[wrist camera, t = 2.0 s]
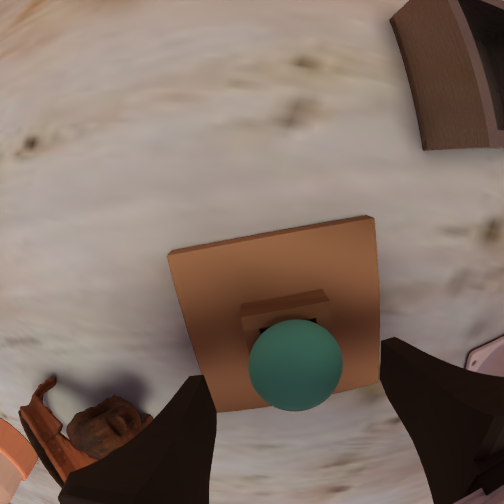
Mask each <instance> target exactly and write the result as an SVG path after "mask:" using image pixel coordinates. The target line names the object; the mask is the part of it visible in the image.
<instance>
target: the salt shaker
mask: <svg viewBox="0 0 504 504" xmlns="http://www.w3.org/2000/svg"><path fill="white" fill-rule="evenodd" d="M37 460H38V456H37V453H36V452H35V450H34V448H33V447H32V446H31V444H30V443H29V442H28V441H27V440H26V439H25V438H24V437H23V436H22V435H21V434H20V433H19V432H18V431H17V430H16V429H15V428H14V427H12V426H11V425H10V424H8V423H7V422H6V421H4V420H3V419H1V418H0V504H8V503H9V502H10V501H11V500H12V498H13V496H14V494H15V492H16V490H17V488H18V486H19V484H20V482H21V481H24V480H26V479H27V477H28V476H29V474H30V472H31V470H32V469H33V467H34V465H35V464H36V462H37Z"/></svg>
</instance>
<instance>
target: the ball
mask: <svg viewBox="0 0 504 504" xmlns="http://www.w3.org/2000/svg"><path fill="white" fill-rule="evenodd" d="M342 369H343V359H342V353H341V350H340V347H339V345H338V343H337V341H336V340H335V338H334V337H333V336H332V335H331V334H330V333H329V332H328V331H327V330H326V329H325V328H323V327H322V326H320V325H318V324H316V323H314V322H311V321H307V320H299V319H295V320H287V321H283V322H280V323H277V324H275V325H273V326H271V327H270V328H268V329H267V330H266V331H265V332H263V333H262V334H261V335H260V337H259V338H258V339H257V341H256V342H255V344H254V346H253V347H252V350H251V353H250V356H249V362H248V370H249V377H250V380H251V383H252V385H253V387H254V389H255V391H256V392H257V393H258V395H259V396H260V397H261V398H262V399H263V400H264V401H265V402H267V403H268V404H270V405H272V406H274V407H276V408H278V409H282V410H286V411H303V410H307V409H310V408H313V407H315V406H317V405H319V404H321V403H322V402H324V401H325V400H326V399H327V398H328V397H329V396H330V395H331V394H332V393H333V392H334V390H335V389H336V387H337V385H338V384H339V381H340V378H341V375H342Z"/></svg>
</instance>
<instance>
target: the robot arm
mask: <svg viewBox="0 0 504 504" xmlns="http://www.w3.org/2000/svg"><path fill="white" fill-rule="evenodd" d="M380 380H381V383H382V385H383V388H384V390H385V393H386V395H387V397H388V399H389V401H390V403H391V404H392V406H393V408H394V409H395V411H396V413H397V414H398V416H399V418H400V419H401V421H402V423H403V424H404V426H405V428H406V429H407V431H408V433H409V435H410V437H411V439H412V440H413V443H414V445H415V447H416V450H417V452H418V455H419V457H420V460H421V463H422V466H423V468H424V471H425V474H426V477H427V480H428V484H429V487H430V490H431V494H432V498H433V502H434V504H504V336H503V337H501V338H499V339H497V340H495V341H493V342H491V343H488V344H486V345H484V346H482V347H480V348H478V349H476V350H473V351H472V352H471V353H470V354H469V357H468V361H467V366H466V369H464V368H460V367H457V366H455V365H452V364H450V363H447V362H445V361H442V360H440V359H438V358H436V357H433V356H431V355H429V354H427V353H425V352H423V351H421V350H419V349H417V348H415V347H414V346H412V345H410V344H408V343H406V342H404V341H402V340H400V339H398V338H396V337H392V338H389V339H385V340H382V341H381V366H380ZM216 425H217V410H216V408H215V405H214V402H213V399H212V397H211V394H210V391H209V388H208V385H207V382H206V379H205V377H204V375H197V376H189V377H188V379H187V380H186V381H185V382H184V384H183V385H182V386H181V388H180V389H179V390H178V391H177V393H176V394H175V395H174V397H173V398H172V399H171V400H170V401H169V403H168V404H167V405H166V406H165V408H164V409H163V410H162V411H161V412H160V413H159V414H158V415H157V416H156V417H155V418H154V420H153V421H152V422H151V423H150V424H149V425H148V426H147V427H145V428H144V429H143V430H142V431H141V432H140V433H139V434H138V435H136V436H135V437H134V438H133V439H131V440H130V441H129V442H127V443H126V444H124V445H123V446H122V447H120V448H119V449H117V450H116V451H114V452H113V453H111V454H109V455H108V456H106V457H104V458H102V459H100V460H98V461H96V462H94V463H92V464H90V465H88V466H85V467H83V468H80V469H78V470H76V471H73V472H70V473H69V475H68V477H67V479H66V481H65V483H64V485H63V487H62V490H61V492H60V494H59V496H58V500H59V502H60V504H209V480H210V471H211V464H212V457H213V451H214V444H215V437H216Z"/></svg>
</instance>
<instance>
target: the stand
mask: <svg viewBox="0 0 504 504" xmlns="http://www.w3.org/2000/svg"><path fill="white" fill-rule="evenodd" d="M167 259H168V263H169V267H170V271H171V274H172V278H173V282H174V285H175V289H176V293H177V296H178V300H179V303H180V307H181V310H182V314H183V317H184V320H185V324H186V327H187V330H188V333H189V337H190V340H191V343H192V346H193V349H194V352H195V355H196V358H197V361H198V364H199V367H200V370H201V373H202V375H204V377H205V379H206V382H207V385H208V388H209V391H210V394H211V397H212V399H213V402H214V405H215V408H216V410H217V413H219V412H229V411H238V410H246V409H254V408H261V407H268V406H272V405H270V404H268V403H267V402H265V401H264V400H263V399H262V398H261V397H260V396H259V395H258V393H257V392H256V391H255V389H254V387H253V385H252V383H251V380H250V377H249V370H248V362H249V356H250V353H251V350H252V347H253V346H254V344H255V342H256V341H257V339H258V338H259V337H260V335H261V334H262V333H263V332H265V331H266V330H267V329H268V328H270V327H271V326H273V325H275V324H277V323H280V322H283V321H287V320H295V319H299V320H307V321H311V322H314V323H316V324H318V325H320V326H322V327H323V328H325V329H326V330H327V331H328V332H329V333H330V334H331V335H332V336H333V337H334V338H335V340H336V341H337V343H338V345H339V347H340V350H341V353H342V359H343V369H342V375H341V378H340V381H339V384H338V385H337V387H336V389H335V390H334V392H333V393H332V394H335V393H340V392H344V391H348V390H352V389H356V388H359V387H363V386H367V385H370V384H374V383H377V382H378V372H379V339H380V311H379V278H378V260H377V245H376V233H375V223H374V218H373V217H370V216H367V215H365V216H359V217H353V218H347V219H341V220H336V221H330V222H324V223H318V224H313V225H307V226H301V227H296V228H290V229H284V230H279V231H273V232H268V233H262V234H257V235H251V236H246V237H241V238H235V239H230V240H225V241H219V242H214V243H209V244H203V245H198V246H193V247H188V248H183V249H177V250H172V251H171V252H170V253H169V254H168V255H167Z"/></svg>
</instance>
